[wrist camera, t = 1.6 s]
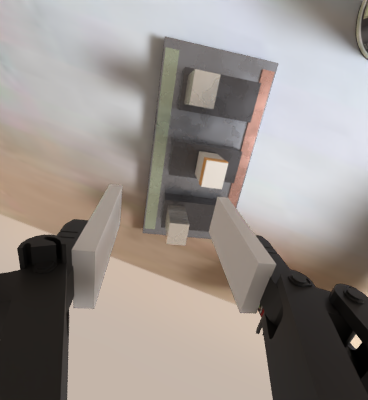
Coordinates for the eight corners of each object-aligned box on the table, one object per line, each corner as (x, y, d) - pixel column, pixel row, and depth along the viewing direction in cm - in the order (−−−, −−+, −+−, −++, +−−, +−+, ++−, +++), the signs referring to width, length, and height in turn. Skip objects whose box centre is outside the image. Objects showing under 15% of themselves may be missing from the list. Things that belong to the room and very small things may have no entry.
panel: (272, 65, 29) (318, 50, 20) (224, 235, 39) (242, 271, 31) (164, 39, 26) (167, 12, 18) (143, 228, 36) (138, 265, 28)
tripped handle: (217, 153, 28) (228, 163, 24) (212, 176, 29) (222, 189, 25) (198, 150, 28) (206, 159, 23) (194, 174, 29) (200, 187, 25)
